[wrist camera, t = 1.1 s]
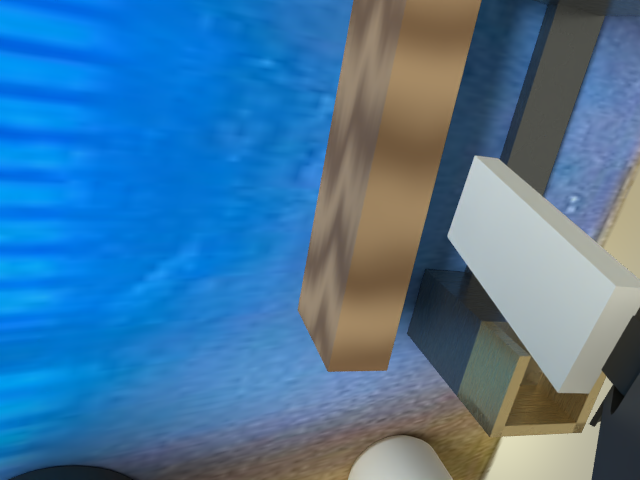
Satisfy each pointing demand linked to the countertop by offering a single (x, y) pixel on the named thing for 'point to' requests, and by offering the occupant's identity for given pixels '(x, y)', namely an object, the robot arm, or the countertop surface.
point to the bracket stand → (464, 288)
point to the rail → (381, 172)
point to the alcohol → (399, 461)
